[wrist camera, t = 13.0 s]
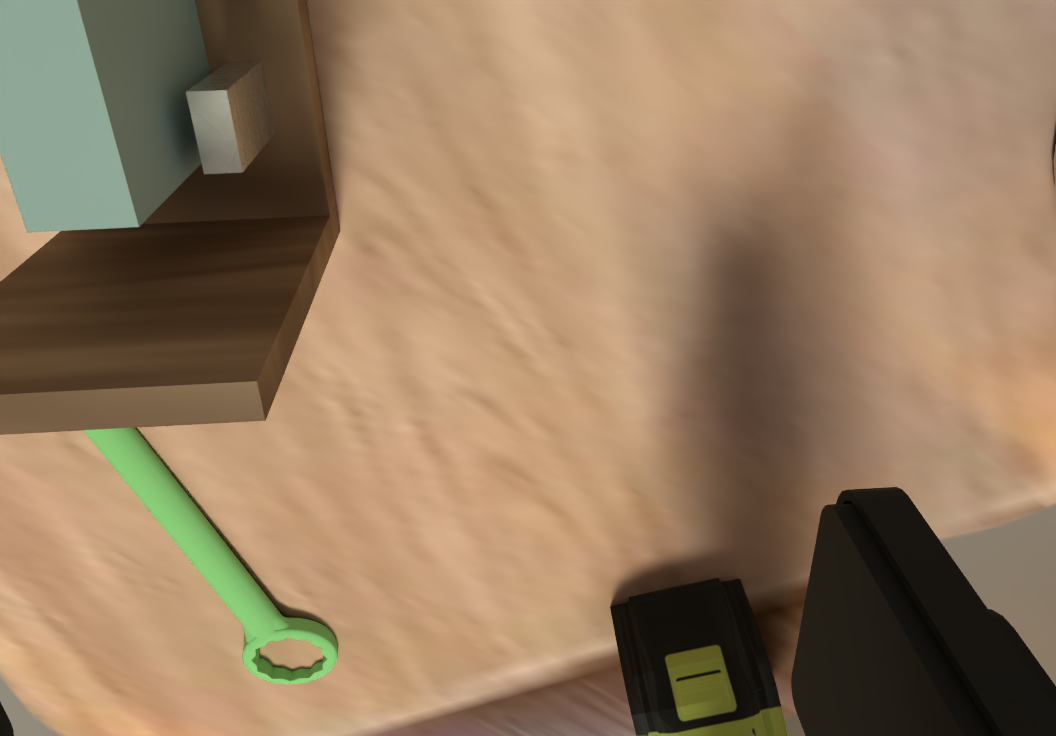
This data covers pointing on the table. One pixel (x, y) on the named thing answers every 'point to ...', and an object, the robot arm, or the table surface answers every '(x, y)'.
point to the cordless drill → (696, 663)
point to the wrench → (213, 557)
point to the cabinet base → (188, 257)
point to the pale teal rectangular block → (97, 108)
